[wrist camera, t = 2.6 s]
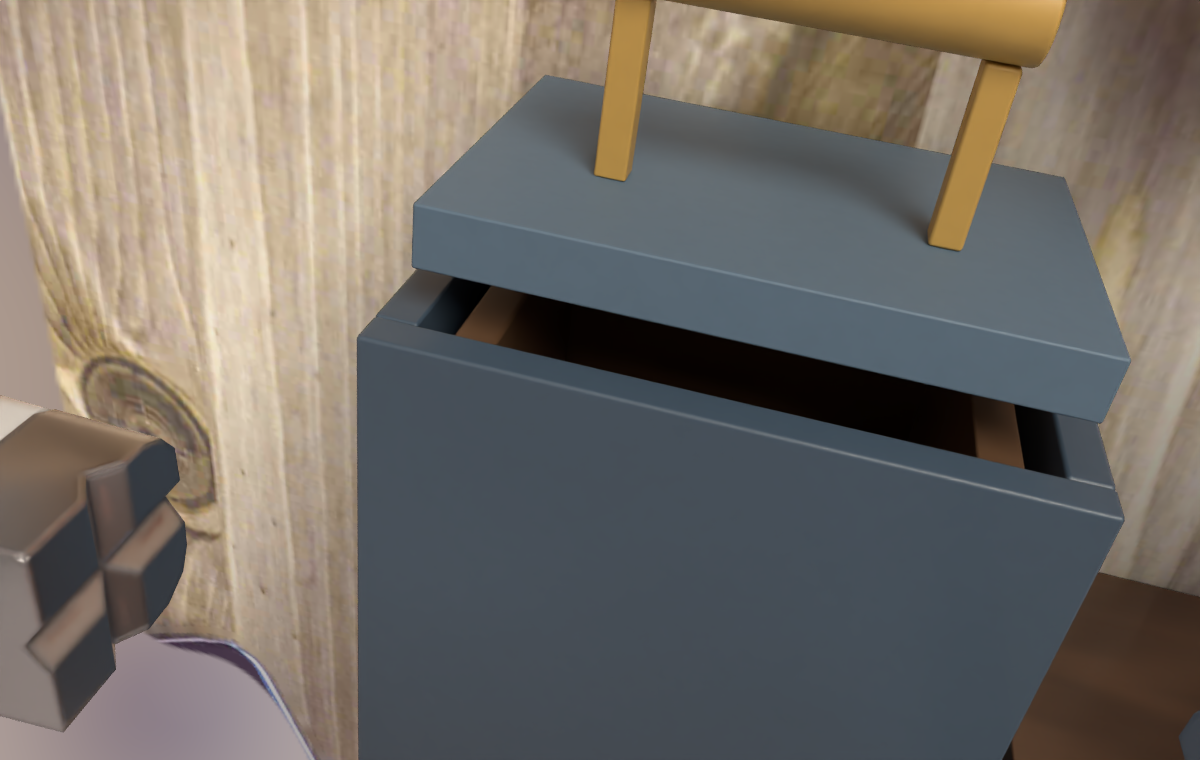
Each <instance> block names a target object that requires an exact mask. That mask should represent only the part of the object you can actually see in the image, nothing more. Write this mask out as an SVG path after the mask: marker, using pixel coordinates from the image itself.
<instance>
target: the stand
mask: <svg viewBox="0 0 1200 760" xmlns="http://www.w3.org/2000/svg"><path fill="white" fill-rule="evenodd" d="M1199 710H1200V597H1197V596H1193V595H1189V594H1184V593H1180V592H1176V591H1172V590H1168V589H1164V588H1160V587H1156V586H1152V585H1148V584H1144V583H1140V582H1135V581H1131V580H1127V579H1123V578H1119V577H1115V576H1111V575H1107V574H1103V573H1099V572H1098V573H1097V575H1096V577H1095V579H1094V581H1093V583H1092V585H1091V587H1090V589H1089V591H1088V593H1087V595H1086V597H1085V599H1084V601H1083V603H1082V605H1081V607H1080V609H1079V610H1078V612H1077V614H1076V616H1075V618H1074V620H1073V622H1072V624H1071V626H1070V628H1069V630H1068V632H1067V634H1066V636H1065V638H1064V640H1063V642H1062V644H1061V646H1060V648H1059V649H1058V651H1057V653H1056V655H1055V657H1054V659H1053V661H1052V663H1051V665H1050V667H1049V669H1048V671H1047V673H1046V675H1045V677H1044V679H1043V681H1042V683H1041V685H1040V687H1039V689H1038V690H1037V692H1036V694H1035V696H1034V698H1033V700H1032V702H1031V704H1030V706H1029V708H1028V710H1027V712H1026V714H1025V716H1024V718H1023V720H1022V722H1021V724H1020V726H1019V728H1018V729H1017V731H1016V733H1015V735H1014V737H1013V739H1012V741H1011V743H1010V745H1009V747H1008V749H1007V751H1006V753H1005V755H1004V757H1003V759H1002V760H1185V758H1184V755H1183V751H1182V748H1181V744H1180V741H1179V735H1180V734H1181V732H1182V731H1183V729H1184V728H1185V726H1186V725H1187V723H1188V722H1189V720H1190V719H1191V717H1192V716H1193V714H1194V713H1196V712H1197V711H1199Z"/></svg>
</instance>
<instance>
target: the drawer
mask: <svg viewBox="0 0 1200 760" xmlns="http://www.w3.org/2000/svg"><path fill="white" fill-rule="evenodd" d="M656 1H657V0H616V1H615V9H614V17H613V25H612V32H611V40H610V48H609V56H608V64H607V72H606V80H605V87H604V86H599V85H594V84H589V83H584V82H579V81H574V80H569V79H564V78H559V77H554V76H549V75H545V76H544V77H543V78H542V79H541V80H540V81H538V82H537V83H536V84H535V85H534V86H533V87H532V88H531V89H530V90H529V91H528V92H527V93H526V94H525V95H524V96H523V97H522V98H521V99H520V100H519V101H518V102H517V103H516V104H515V105H514V106H513V107H512V108H511V109H510V110H509V111H508V112H507V113H506V114H505V115H504V116H503V117H502V118H501V119H500V120H499V121H498V122H497V123H496V124H495V125H494V126H493V127H492V128H491V129H490V130H488V131H487V132H486V133H485V134H484V135H483V136H482V137H481V138H480V139H479V140H478V141H477V142H476V143H475V144H474V145H473V146H472V147H471V148H470V149H469V150H468V151H467V152H466V153H465V154H464V155H463V156H462V157H461V158H460V159H459V160H458V161H457V162H456V163H455V164H454V165H453V166H452V167H451V168H450V169H449V170H448V171H447V172H446V173H445V174H444V175H443V176H442V177H441V178H440V179H438V180H437V181H436V182H435V183H434V184H433V185H432V186H431V187H430V188H429V189H428V190H427V191H426V192H425V193H424V194H423V195H422V196H421V197H420V198H419V199H418V200H417V201H416V202H415V203H414V205H413V238H412V267H413V268H416V269H421V270H425V271H429V272H434V273H438V274H443V275H447V276H451V277H456V278H460V279H465V280H469V281H473V282H478V283H482V284H487V285H491V286H490V288H489V289H488V290H487V292H486V293H485V295H484V296H483V297H482V299H481V300H480V301H479V303H478V304H477V305H476V307H475V308H474V310H473V311H472V312H471V314H470V315H469V316H468V318H467V319H466V320H465V322H464V323H463V325H462V326H461V327H460V329H459V330H458V331H457V333H456V334H455V335H456V336H460V337H464V338H469V339H473V340H477V341H481V342H486V343H490V344H494V345H498V346H503V347H507V348H511V349H515V350H520V351H524V352H528V353H532V354H537V355H541V356H545V357H550V358H554V359H558V360H562V361H567V362H571V363H575V364H579V365H584V366H588V367H592V368H596V369H601V370H605V371H609V372H614V373H618V374H622V375H626V376H631V377H635V378H639V379H643V380H648V381H652V382H656V383H660V384H665V385H669V386H673V387H677V388H682V389H686V390H690V391H695V392H699V393H703V394H707V395H712V396H716V397H720V398H724V399H729V400H733V401H737V402H741V403H746V404H750V405H754V406H759V407H763V408H767V409H771V410H776V411H780V412H784V413H788V414H793V415H797V416H801V417H805V418H810V419H814V420H818V421H823V422H827V423H831V424H835V425H840V426H844V427H848V428H852V429H857V430H861V431H865V432H869V433H874V434H878V435H882V436H886V437H891V438H895V439H899V440H904V441H908V442H912V443H916V444H921V445H925V446H929V447H933V448H938V449H942V450H946V451H950V452H955V453H959V454H963V455H968V456H972V457H976V458H980V459H985V460H989V461H993V462H997V463H1002V464H1006V465H1010V466H1014V467H1019V468H1023V469H1025V467H1024V461H1023V455H1022V449H1021V443H1020V437H1019V431H1018V425H1017V419H1016V413H1015V407H1014V404H1016V405H1020V406H1025V407H1029V408H1033V409H1038V410H1042V411H1047V412H1051V413H1055V414H1060V415H1064V416H1069V417H1073V418H1077V419H1082V420H1086V421H1091V422H1095V423H1102V422H1103V420H1104V418H1105V416H1106V414H1107V412H1108V410H1109V408H1110V405H1111V403H1112V401H1113V399H1114V397H1115V395H1116V393H1117V391H1118V388H1119V386H1120V384H1121V382H1122V380H1123V378H1124V376H1125V373H1126V371H1127V369H1128V367H1129V365H1130V363H1131V359H1130V356H1129V353H1128V350H1127V348H1126V345H1125V342H1124V339H1123V337H1122V334H1121V331H1120V328H1119V326H1118V323H1117V320H1116V317H1115V315H1114V312H1113V309H1112V306H1111V304H1110V301H1109V298H1108V295H1107V293H1106V290H1105V287H1104V284H1103V282H1102V279H1101V276H1100V273H1099V271H1098V268H1097V265H1096V262H1095V260H1094V257H1093V254H1092V251H1091V249H1090V246H1089V243H1088V240H1087V238H1086V235H1085V232H1084V229H1083V227H1082V224H1081V221H1080V218H1079V216H1078V213H1077V210H1076V207H1075V205H1074V202H1073V199H1072V196H1071V194H1070V191H1069V188H1068V185H1067V183H1066V180H1065V178H1064V177H1059V176H1054V175H1049V174H1044V173H1039V172H1034V171H1029V170H1024V169H1019V168H1014V167H1009V166H1004V165H999V164H993V163H992V161H993V158H994V155H995V152H996V150H997V147H998V144H999V141H1000V138H1001V135H1002V132H1003V129H1004V126H1005V123H1006V120H1007V117H1008V114H1009V111H1010V108H1011V106H1012V103H1013V100H1014V97H1015V94H1016V91H1017V88H1018V85H1019V82H1020V79H1021V76H1022V68H1021V66H1022V67H1028V68H1035V67H1038V66H1039V65H1040V64H1041V63H1042V61H1043V60H1044V59H1045V57H1046V55H1047V54H1048V52H1049V50H1050V48H1051V46H1052V43H1053V41H1054V39H1055V36H1056V34H1057V31H1058V28H1059V25H1060V22H1061V19H1062V16H1063V13H1064V9H1065V6H1066V2H1067V0H666V1H671V2H677V3H682V4H688V5H693V6H698V7H704V8H709V9H715V10H720V11H725V12H731V13H736V14H742V15H747V16H752V17H758V18H763V19H769V20H774V21H779V22H785V23H790V24H796V25H801V26H806V27H812V28H817V29H823V30H828V31H833V32H839V33H844V34H850V35H855V36H860V37H866V38H871V39H877V40H882V41H887V42H893V43H898V44H904V45H909V46H914V47H920V48H925V49H931V50H936V51H941V52H947V53H952V54H958V55H963V56H968V57H974V58H979V59H982V60H981V63H980V67H979V70H978V73H977V76H976V79H975V82H974V85H973V89H972V92H971V95H970V98H969V101H968V104H967V108H966V111H965V114H964V117H963V120H962V123H961V126H960V130H959V133H958V136H957V139H956V142H955V145H954V148H953V152H952V155H948V154H943V153H938V152H933V151H928V150H923V149H918V148H913V147H908V146H902V145H897V144H892V143H887V142H882V141H877V140H872V139H867V138H862V137H857V136H852V135H847V134H842V133H837V132H832V131H827V130H822V129H817V128H811V127H806V126H801V125H796V124H791V123H786V122H781V121H776V120H771V119H766V118H761V117H756V116H751V115H746V114H741V113H736V112H731V111H726V110H720V109H715V108H710V107H705V106H700V105H695V104H690V103H685V102H680V101H675V100H670V99H665V98H660V97H655V96H650V95H645V94H643V90H644V83H645V76H646V69H647V62H648V55H649V49H650V42H651V35H652V28H653V21H654V14H655V8H656Z"/></svg>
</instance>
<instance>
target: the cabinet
mask: <svg viewBox="0 0 1200 760" xmlns="http://www.w3.org/2000/svg"><path fill="white" fill-rule="evenodd" d="M490 286H491V285H487V284H482V283H478V282H473V281H469V280H465V279H460V278H456V277H451V276H447V275H443V274H438V273H434V272H429V271H425V270H421V269H417V270H416V271H415V272H414V273H413V274H412V275H411V277H410V278H409V279H408V280H407V281H406V282H405V283H404V284H403V286H402V287H401V288H400V289H399V290H398V291H397V292H396V293H395V294H394V296H393V297H392V298H391V299H390V300H389V301H388V302H387V303H386V305H385V306H384V307H383V308H382V309H381V310H380V311H379V312H378V314H377V315H376V318H374V319H373V320H372V321H371V322H370V323H369V324H368V325H367V326H366V328H365V329H364V330H363V331H362V332H361V333H360V334H359V335H358V337H357V493H358V760H1002V759H1003V757H1004V755H1005V753H1006V751H1007V749H1008V747H1009V745H1010V743H1011V741H1012V739H1013V737H1014V735H1015V733H1016V731H1017V729H1018V728H1019V726H1020V724H1021V722H1022V720H1023V718H1024V716H1025V714H1026V712H1027V710H1028V708H1029V706H1030V704H1031V702H1032V700H1033V698H1034V696H1035V694H1036V692H1037V690H1038V689H1039V687H1040V685H1041V683H1042V681H1043V679H1044V677H1045V675H1046V673H1047V671H1048V669H1049V667H1050V665H1051V663H1052V661H1053V659H1054V657H1055V655H1056V653H1057V651H1058V649H1059V648H1060V646H1061V644H1062V642H1063V640H1064V638H1065V636H1066V634H1067V632H1068V630H1069V628H1070V626H1071V624H1072V622H1073V620H1074V618H1075V616H1076V614H1077V612H1078V610H1079V609H1080V607H1081V605H1082V603H1083V601H1084V599H1085V597H1086V595H1087V593H1088V591H1089V589H1090V587H1091V585H1092V583H1093V581H1094V579H1095V577H1096V575H1097V573H1098V571H1099V570H1100V568H1101V566H1102V564H1103V562H1104V560H1105V558H1106V556H1107V554H1108V552H1109V550H1110V548H1111V546H1112V544H1113V542H1114V540H1115V538H1116V536H1117V534H1118V532H1119V531H1120V529H1121V527H1122V525H1123V523H1124V514H1123V511H1122V507H1121V504H1120V500H1119V497H1118V493H1117V492H1116V491H1115V484H1114V480H1113V477H1112V473H1111V470H1110V466H1109V463H1108V459H1107V455H1106V452H1105V448H1104V445H1103V441H1102V438H1101V434H1100V431H1099V427H1098V424H1097V423H1095V422H1091V421H1086V420H1082V419H1077V418H1073V417H1069V416H1064V415H1060V414H1055V413H1051V412H1047V411H1042V410H1038V409H1033V408H1029V407H1025V406H1020V405H1016V404H1014V407H1015V413H1016V419H1017V425H1018V431H1019V437H1020V443H1021V449H1022V455H1023V461H1024V467H1025V469H1023V468H1019V467H1014V466H1010V465H1006V464H1002V463H997V462H993V461H989V460H985V459H980V458H976V457H972V456H968V455H963V454H959V453H955V452H950V451H946V450H942V449H938V448H933V447H929V446H925V445H921V444H916V443H912V442H908V441H904V440H899V439H895V438H891V437H886V436H882V435H878V434H874V433H869V432H865V431H861V430H857V429H852V428H848V427H844V426H840V425H835V424H831V423H827V422H823V421H818V420H814V419H810V418H805V417H801V416H797V415H793V414H788V413H784V412H780V411H776V410H771V409H767V408H763V407H759V406H754V405H750V404H746V403H741V402H737V401H733V400H729V399H724V398H720V397H716V396H712V395H707V394H703V393H699V392H695V391H690V390H686V389H682V388H677V387H673V386H669V385H665V384H660V383H656V382H652V381H648V380H643V379H639V378H635V377H631V376H626V375H622V374H618V373H614V372H609V371H605V370H601V369H596V368H592V367H588V366H584V365H579V364H575V363H571V362H567V361H562V360H558V359H554V358H550V357H545V356H541V355H537V354H532V353H528V352H524V351H520V350H515V349H511V348H507V347H503V346H498V345H494V344H490V343H486V342H481V341H477V340H473V339H469V338H464V337H460V336H456V335H455V334H456V333H457V331H458V330H459V329H460V327H461V326H462V325H463V323H464V322H465V320H466V319H467V318H468V316H469V315H470V314H471V312H472V311H473V310H474V308H475V307H476V305H477V304H478V303H479V301H480V300H481V299H482V297H483V296H484V295H485V293H486V292H487V290H488V289H489V288H490Z"/></svg>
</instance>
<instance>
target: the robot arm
mask: <svg viewBox="0 0 1200 760" xmlns="http://www.w3.org/2000/svg"><path fill="white" fill-rule="evenodd" d="M179 481H180V478H179V472H178V466H177V460H176V454H175V448H174V447H172V446H171V445H169V444H168V443H166V442H165V441H163V440H162V439H160V438H156V437H153V436H149V435H146V434H142V433H139V432H135V431H131V430H128V429H124V428H121V427H117V426H113V425H110V424H106V423H103V422H99V421H95V420H92V419H88V418H85V417H81V416H77V415H74V414H70V413H67V412H63V411H59V410H56V409H54V410H50V409H47V408H43V407H40V406H37V405H33V404H30V403H26V402H22V401H19V400H16V399H12V398H9V397H5V396H2V395H0V716H2V717H6V718H10V719H14V720H18V721H21V722H25V723H29V724H33V725H36V726H40V727H44V728H48V729H52V730H56V731H60V732H64V731H65V730H66V729H67V727H68V726H69V725H70V724H71V723H72V721H73V720H74V719H75V718H76V717H77V715H78V714H79V713H80V711H82V709H83V708H84V707H85V706H86V705H87V703H88V702H89V701H90V700H91V698H92V697H93V696H94V695H95V694H96V693H97V691H98V690H99V689H100V688H101V687H102V685H103V684H104V683H105V682H106V680H107V679H108V678H109V677H110V676H111V674H112V673H113V672H114V671H115V670H116V659H115V644H117V643H119V642H121V641H123V640H125V639H128V638H130V637H132V636H135V635H137V634H139V633H141V632H144V631H146V630H148V629H149V628H150V627H151V626H152V624H153V623H154V622H155V621H156V619H157V618H158V617H159V615H160V614H161V613H162V612H163V610H164V609H165V608H166V607H167V605H168V604H169V602H170V600H171V598H172V595H173V593H174V591H175V588H176V586H177V584H178V582H179V579H180V577H181V575H182V572H183V569H184V562H185V555H186V548H187V541H186V530H185V522H184V520H183V519H182V518H181V516H180V515H179V514H178V513H177V511H176V510H175V509H174V507H173V506H172V505H171V503H170V502H169V501H168V499H167V498H166V497H165V496H166V495H167V494H168V493H169V492H170V491H171V490H172V489H173V487H174V486H175V485H176V484H177V483H178V482H179ZM1179 741H1180V744H1181V748H1182V751H1183V755H1184V758H1185V760H1200V710H1199V711H1197V712H1196V713H1194V714H1193V716H1192V717H1191V719H1190V720H1189V722H1188V723H1187V725H1186V726H1185V728H1184V729H1183V731H1182V732H1181V734H1180V735H1179Z"/></svg>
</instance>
